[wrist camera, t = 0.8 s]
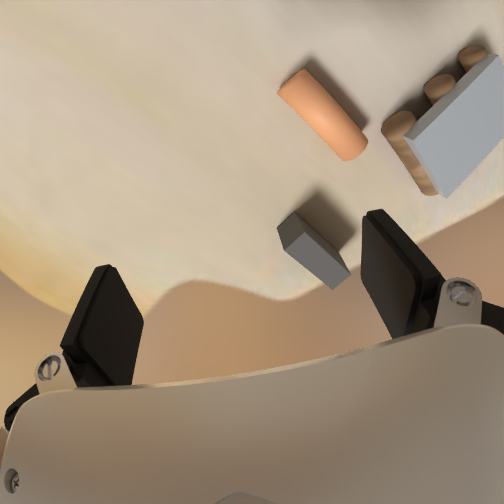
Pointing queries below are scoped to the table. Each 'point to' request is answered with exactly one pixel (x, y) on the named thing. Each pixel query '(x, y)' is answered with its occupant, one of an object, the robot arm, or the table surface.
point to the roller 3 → (471, 56)
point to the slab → (461, 126)
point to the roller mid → (439, 87)
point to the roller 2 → (406, 148)
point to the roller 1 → (323, 115)
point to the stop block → (312, 251)
